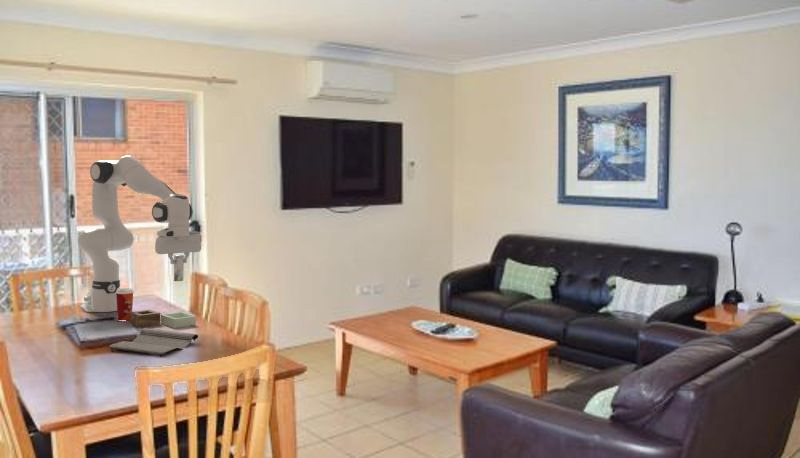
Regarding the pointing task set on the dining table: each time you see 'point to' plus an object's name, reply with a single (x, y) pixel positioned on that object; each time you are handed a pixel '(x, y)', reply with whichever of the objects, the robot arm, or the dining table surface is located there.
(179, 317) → the tray
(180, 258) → the steel pin
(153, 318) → the socket block
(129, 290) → the paper cup
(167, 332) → the mat
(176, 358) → the dining table surface
